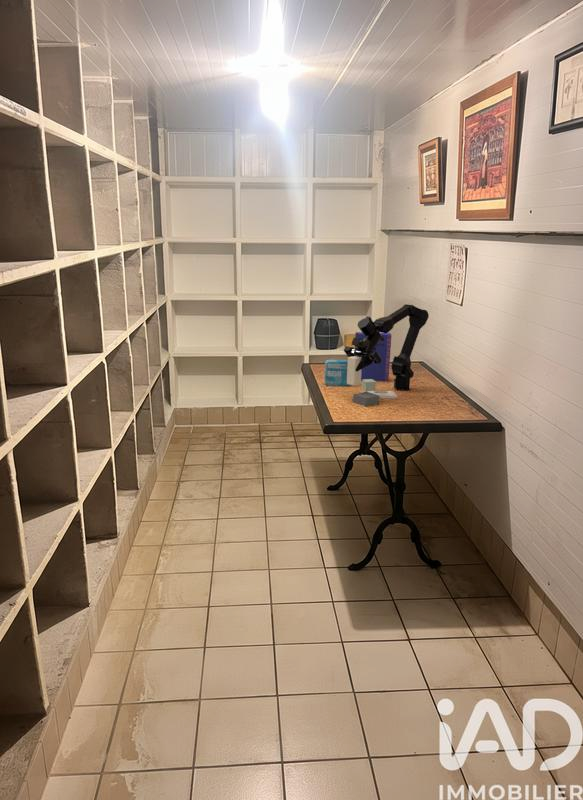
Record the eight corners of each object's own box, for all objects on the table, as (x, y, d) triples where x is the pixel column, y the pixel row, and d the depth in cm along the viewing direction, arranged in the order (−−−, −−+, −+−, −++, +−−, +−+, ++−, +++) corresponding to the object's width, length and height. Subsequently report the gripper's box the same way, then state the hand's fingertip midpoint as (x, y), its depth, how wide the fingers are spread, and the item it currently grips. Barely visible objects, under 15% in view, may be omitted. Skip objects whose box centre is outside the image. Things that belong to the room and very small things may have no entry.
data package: (325, 385, 293) (326, 361, 290) (324, 383, 297) (325, 359, 294) (349, 386, 294) (351, 361, 291) (348, 383, 298) (349, 359, 295)
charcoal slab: (366, 400, 269) (367, 391, 268) (379, 404, 263) (379, 395, 262) (353, 402, 265) (353, 393, 264) (365, 407, 258) (365, 398, 257)
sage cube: (371, 389, 288) (371, 379, 287) (375, 391, 284) (376, 381, 282) (361, 389, 287) (362, 379, 286) (365, 392, 282) (366, 381, 281)
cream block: (353, 382, 271) (354, 356, 268) (360, 384, 268) (362, 357, 265) (346, 383, 268) (347, 357, 265) (353, 385, 265) (355, 358, 262)
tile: (392, 393, 281) (392, 390, 281) (397, 398, 272) (397, 395, 272) (366, 393, 280) (367, 390, 279) (371, 398, 271) (371, 395, 271)
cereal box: (387, 379, 309) (390, 332, 303) (388, 381, 305) (391, 334, 298) (353, 378, 310) (355, 331, 303) (353, 380, 305) (356, 333, 299)
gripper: (347, 328, 271) (328, 355, 267) (378, 333, 258) (359, 362, 254) (358, 343, 278) (340, 370, 274) (389, 350, 265) (371, 378, 261)
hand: (352, 369), depth 265 cm, fingers closed on cream block, 4 cm apart
